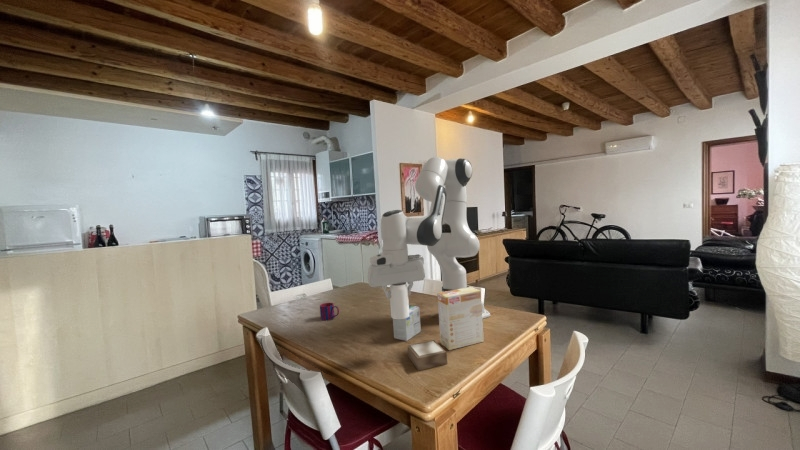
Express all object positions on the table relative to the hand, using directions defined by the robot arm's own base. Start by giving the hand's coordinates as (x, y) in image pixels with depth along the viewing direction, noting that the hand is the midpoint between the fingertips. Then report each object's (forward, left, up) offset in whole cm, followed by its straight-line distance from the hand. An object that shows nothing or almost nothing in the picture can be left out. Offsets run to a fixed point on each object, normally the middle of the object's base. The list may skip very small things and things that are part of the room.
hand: (398, 295), depth 108 cm
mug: (+21, -51, -21) cm, 59 cm away
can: (0, 0, -8) cm, 8 cm away
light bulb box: (-7, -15, -21) cm, 27 cm away
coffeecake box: (-23, +1, -21) cm, 31 cm away
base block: (-6, +8, -21) cm, 23 cm away
